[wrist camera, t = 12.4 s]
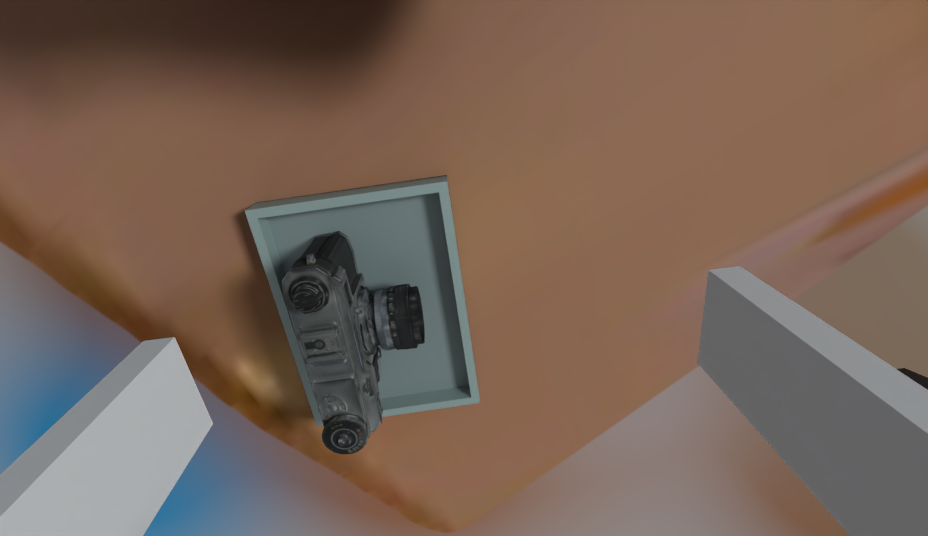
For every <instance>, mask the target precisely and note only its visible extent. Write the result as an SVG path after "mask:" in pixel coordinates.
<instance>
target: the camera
mask: <svg viewBox="0 0 928 536" xmlns="http://www.w3.org/2000/svg"><path fill="white" fill-rule="evenodd" d="M282 287H283V294H284V298H285V304H286V308H287V310H288V311H289V314H290V317H291V321H292V324H293V327H294V330H295V333H296V337H297V340H298V343H299V346H300V350H301V353H302V356H303V359H304V362H305V366H306V369H307V372H308V375H309V378H310V382H311V385H312V389H313V393H314V396H315V398H316V401H317V404H318V410H319V412H320V415H321V418H322V421H323V425H324V429H323V433H322V439H323V443H324V444H325V446H326V447H327V448H328V449H330V450H331V451H333V452H335V453H339V454H353V453H356V452H358V451H359V450H361V449H362V448H363V447H364V446H365V444H366V443H367V440H368V438H369V437H370V432H374V431H375V430H376V429H377V427H378V426H379V425H380V424H381V423H382V413H383V406H382V401H381V397H380V392H379V388H378V382H379V381H380V378H381V370H380V362H379V358H381V357H382V355H381V348H382V350H384V351H388V350H392V349H397V350H402V349H413V348H417V347H418V344H423V343H425V329H424V318H423V310H422V303H421V297H420V293H419V289H418V287H417V286H414V287H410V285H409V284H402V285H396V286H391V287H389V288H385V289H377V290H376V291H375V294H374V296H373V295H372V294H371V292H370V290H369V289H368V287H366V285H365V281H364V277H363V273H358V268H357V264H356V260H355V255H354V251H353V248H352V246H351V243H350V241H349V238H348V236H346V235H345V234H343V233H342V232H341V231H336V232H332V233H327V234H322V235H316V237H315V238H314V239H313V241H312V242H311V244H310V245H309V246H308V248H307V249H306V250H305V252H304V253H303V254H302V256H301V257H300V258H299V259H297V260H296V261H295V262H294V264H293V265H292V267H291V268H290V270H289V271H288V273H287V274H286V275H285V277H284V278H283V280H282ZM379 345H380V347H381V348H380V347H378V346H379Z"/></svg>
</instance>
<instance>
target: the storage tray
mask: <svg viewBox="0 0 928 536" xmlns="http://www.w3.org/2000/svg"><path fill="white" fill-rule="evenodd" d="M245 214H246V217H247V220H248V223H249V226H250V229H251V232H252V234H253V237H254V240H255V243H256V246H257V249H258V252H259V255H260V258H261V261H262V264H263V267H264V270H265V273H266V276H267V279H268V282H269V285H270V288H271V291H272V294H273V297H274V300H275V303H276V306H277V309H278V312H279V315H280V318H281V321H282V324H283V327H284V330H285V333H286V336H287V339H288V342H289V345H290V348H291V351H292V354H293V357H294V360H295V363H296V366H297V369H298V372H299V375H300V378H301V381H302V384H303V387H304V390H305V393H306V396H307V399H308V402H309V405H310V408H311V410H312V413H313V416H314V419H315V422H316V425H317V426H323V421H322V418H321V415H320V412H319V410H318V404H317V401H316V398H315V396H314V393H313V389H312V385H311V382H310V378H309V375H308V372H307V369H306V366H305V362H304V359H303V356H302V353H301V350H300V346H299V343H298V340H297V337H296V333H295V330H294V327H293V324H292V321H291V317H290V314H289V311H288V310H287V308H286V304H285V298H284V294H283V287H282V280H283V278H284V277H285V275H286V274H287V273H288V271H289V270H290V268H291V267H292V265H293V264H294V262H295V261H296V260H297V259H299V258H300V257H301V256H302V254H303V253H304V252H305V250H306V249H307V248H308V246H309V245H310V244H311V242H312V241H313V239H314V238H315V237H316V235H322V234H327V233H332V232H336V231H341V232H342V233H343V234H345V235H346V236H348V238H349V241H350V243H351V246H352V248H353V251H354V255H355V260H356V264H357V268H358V273H363V277H364V281H365V285H366V287H368V289H369V290H370V292H371V294H372V295H373V296H374V294H375V291H376V290H377V289H385V288H389V287H391V286H396V285H402V284H409V285H410V287H414V286H417V287H418V289H419V293H420V297H421V303H422V310H423V318H424V329H425V343H423V344H418V347H417V348H413V349H402V350H397V349H392V350H388V351H384V350H382V348H381V347H380V345H379V346H378V347H380V348H381V355H382V357H381V358H379V362H380V370H381V378H380V381H379V382H378V388H379V392H380V397H381V401H382V406H383V413H382V417H385V416H392V415H399V414H406V413H413V412H420V411H426V410H433V409H440V408H447V407H454V406H461V405H468V404H475V403H480V398H479V390H478V383H477V377H476V370H475V363H474V357H473V350H472V343H471V336H470V330H469V323H468V316H467V309H466V303H465V296H464V289H463V283H462V276H461V269H460V262H459V256H458V249H457V242H456V235H455V229H454V222H453V215H452V209H451V202H450V195H449V188H448V182H447V175H444V176H437V177H430V178H423V179H416V180H409V181H403V182H396V183H389V184H382V185H375V186H368V187H361V188H354V189H347V190H341V191H334V192H327V193H320V194H313V195H306V196H299V197H292V198H286V199H279V200H272V201H265V202H258V203H255V204H253V205H252V206H251V207H249V208H248V209H246V210H245Z"/></svg>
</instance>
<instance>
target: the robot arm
mask: <svg viewBox="0 0 928 536" xmlns="http://www.w3.org/2000/svg"><path fill="white" fill-rule="evenodd" d="M697 363H698V364H699V365H700V366H701V367H702V368H703V369H704V371H705V372H706V373H707V374H708V375H709V376H710V377H711V378H712V379H713V381H714V382H715V383H716V384H717V385H718V386H719V387H720V389H721V390H722V391H723V392H724V393H725V394H726V395H727V396H728V398H729V399H730V400H731V401H732V402H733V403H734V405H735V406H736V407H737V408H738V409H739V410H740V411H741V412H742V414H743V415H744V416H745V417H746V418H747V419H748V420H749V422H750V423H751V424H752V425H753V426H754V427H755V428H756V430H757V431H758V432H759V433H760V434H761V435H762V436H763V437H764V438H765V440H766V441H767V442H768V443H769V444H770V445H771V446H772V448H773V449H774V450H775V451H776V452H777V453H778V454H779V456H780V457H781V458H782V459H783V460H784V461H785V462H786V464H787V465H788V466H789V467H790V468H791V469H792V470H793V471H794V473H796V475H797V476H798V477H799V478H800V479H801V481H802V482H803V483H804V484H805V485H806V486H807V487H808V488H809V489H810V491H811V492H812V493H813V494H814V495H815V496H816V497H817V498H818V500H819V501H820V502H821V503H822V504H823V505H824V507H825V508H826V509H827V510H828V511H829V512H830V513H831V515H832V516H833V517H834V518H835V519H836V520H837V521H838V522H839V524H840V525H841V526H842V527H843V528H844V529H845V530H846V532H847V533H848V534H849V535H850V536H928V378H927V377H924V376H922V375H919V374H917V373H915V372H912V371H910V370H908V369H905V368H902V369H895V368H894V367H892V366H891V365H889V364H888V363H886V362H885V361H883V360H882V359H880V358H878V357H877V356H875V355H874V354H872V353H871V352H869V351H868V350H866V349H865V348H863V347H862V346H860V345H859V344H857V343H856V342H854V341H853V340H851V339H849V338H848V337H847V336H845V335H844V334H842V333H840V332H839V331H837V330H836V329H834V328H833V327H831V326H830V325H828V324H827V323H825V322H824V321H822V320H821V319H819V318H818V317H816V316H815V315H813V314H812V313H810V312H809V311H807V310H805V309H804V308H802V307H801V306H799V305H798V304H796V303H795V302H793V301H792V300H790V299H789V298H787V297H786V296H784V295H783V294H781V293H780V292H778V291H777V290H775V289H774V288H772V287H771V286H769V285H767V284H766V283H764V282H763V281H761V280H760V279H758V278H757V277H755V276H754V275H752V274H751V273H749V272H748V271H746V270H745V269H743V268H742V267H740V266H737V267H729V268H721V269H713V270H709V271H708V280H707V288H706V296H705V304H704V313H703V321H702V329H701V337H700V346H699V354H698V362H697ZM212 425H213V423H212V420H211V418H210V416H209V414H208V411H207V409H206V407H205V404H204V402H203V400H202V398H201V395H200V393H199V391H198V389H197V386H196V384H195V382H194V380H193V377H192V375H191V373H190V371H189V368H188V366H187V364H186V361H185V359H184V357H183V355H182V352H181V350H180V348H179V346H178V343H177V341H176V339H175V337H171V338H163V339H155V340H148V341H143V342H142V343H141V344H140V345H139V346H138V347H136V348H135V349H134V350H133V351H132V352H131V353H130V354H129V355H128V356H127V357H126V358H125V359H124V360H123V361H121V362H120V363H119V364H118V365H117V366H116V367H115V368H114V369H113V370H112V371H111V372H110V373H109V374H108V375H107V376H105V377H104V378H103V379H102V380H101V381H100V382H99V383H98V384H97V385H96V386H95V387H94V388H93V389H91V391H89V392H88V393H87V394H86V395H85V396H84V397H83V398H82V399H81V400H80V401H79V402H78V403H77V404H75V405H74V406H73V407H72V408H71V409H70V410H69V411H68V412H67V413H66V414H65V415H64V416H63V417H61V418H60V419H59V420H58V421H57V422H56V423H55V424H54V425H53V426H52V427H51V428H50V429H49V430H48V431H46V432H45V434H43V435H42V436H41V437H40V438H39V439H38V440H37V441H36V442H35V443H34V444H33V445H32V446H31V447H29V449H27V450H26V451H25V452H24V453H23V454H22V455H21V456H20V457H19V458H18V459H16V461H14V462H13V463H12V464H11V465H10V466H9V467H8V468H7V469H6V470H5V471H4V472H3V473H1V474H0V536H143V535H144V533H145V531H146V530H147V528H148V527H149V525H150V523H151V522H152V520H153V518H154V517H155V515H156V514H157V512H158V511H159V509H160V507H161V506H162V504H163V503H164V501H165V499H166V498H167V496H168V495H169V493H170V492H171V490H172V488H173V487H174V485H175V484H176V482H177V480H178V479H179V477H180V476H181V474H182V472H183V471H184V469H185V467H186V466H187V464H188V463H189V461H190V459H191V458H192V457H193V455H194V453H195V452H196V450H197V448H198V447H199V445H200V444H201V442H202V441H203V439H204V437H205V436H206V434H207V433H208V431H209V429H210V428H211V426H212Z"/></svg>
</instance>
